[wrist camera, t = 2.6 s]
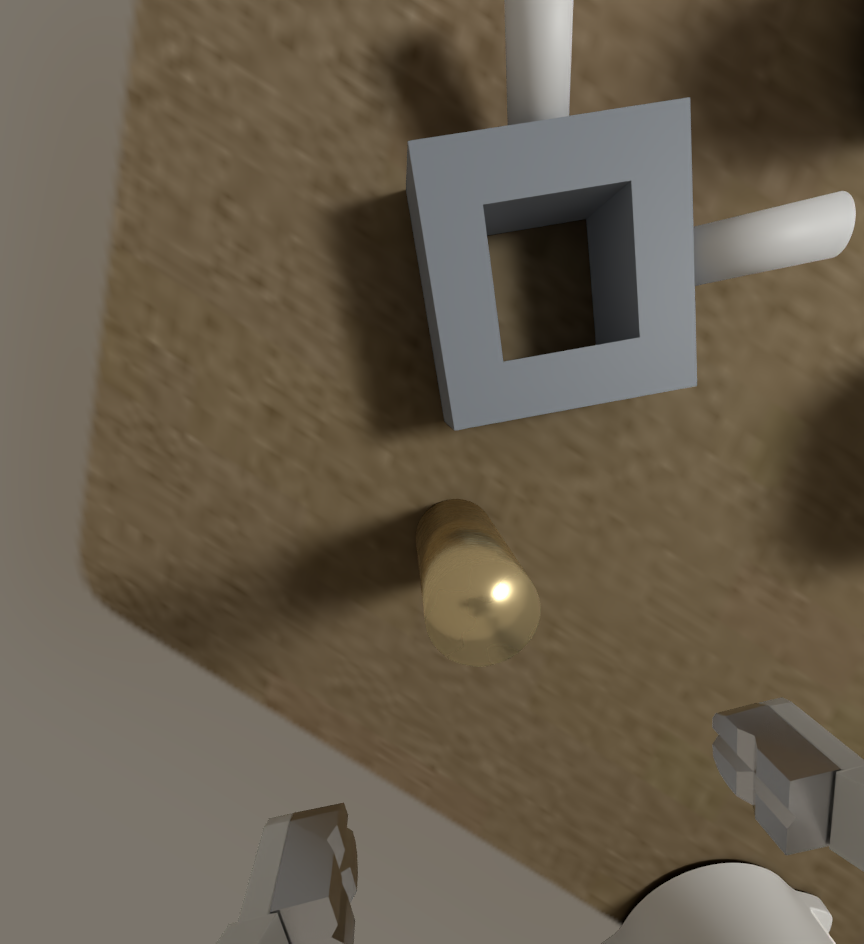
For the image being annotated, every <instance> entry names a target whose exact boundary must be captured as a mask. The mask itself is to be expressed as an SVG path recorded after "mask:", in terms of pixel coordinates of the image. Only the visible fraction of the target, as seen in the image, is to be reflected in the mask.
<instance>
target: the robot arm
mask: <svg viewBox="0 0 864 944" xmlns="http://www.w3.org/2000/svg"><path fill="white" fill-rule="evenodd" d="M713 729H714V730H715V731H716V732H717V733H718V734H719V735H718V737H717V738H716V740H715V741H714V743H713V757H714V760H715V762H716V765H717V768H718V770H719V772H720V774H721V776H722V777H723V779H724V780H725V782H726V784H727V785H728V786H729V787H730V788H731V790H732V791H733V792H734V793H735V795H736V796H738V797H739V798H741V799H743V800H745V801H746V802H748V803H750V804H752V805H753V809H754V815H755V819H756V820H757V821H758V822H759V824H760V825H761V826H762V827H763V828H764V830H765V831H766V832H767V833H768V834H769V836H770V837H771V838H772V839H773V840H774V842H775V843H776V844H777V845H778V846H779V848H780V849H781V850H782V851H783V852H784V853H785V855H790V854H794V853H799V852H803V851H808V850H812V849H817V848H821V847H826V846H830V847H829V849H830V850H832V851H833V852H835V853H836V854H838V855H839V856H841V857H842V858H844V859H845V860H847V861H848V862H850V863H851V864H853V865H854V866H856V867H858V868H859V869H861V870H862V871H864V760H863V759H862V758H861V757H860V756H858V755H857V754H856V753H855V752H853V751H852V750H851V749H850V748H848V747H847V746H846V745H845V744H843V743H842V742H841V741H840V740H838V739H837V738H836V737H835V736H833V735H832V734H831V733H830V732H828V731H827V730H826V729H825V728H823V727H822V726H821V725H820V724H818V723H817V722H816V721H815V720H813V719H812V718H811V717H810V716H808V715H807V714H806V713H805V712H803V711H802V710H801V709H800V708H798V707H797V706H796V705H795V704H794V703H792V702H791V701H789V700H787V699H785V698H777V699H773V700H769V701H765V702H760V703H754V704H750V705H746V706H742V707H738V708H734V709H730V710H726V711H722V712H719V713H716V714H715V715H714V717H713ZM347 820H348V814H347V811H346V808H345V805H344V803H340V804H335V805H330V806H326V807H320V808H316V809H311V810H306V811H301V812H296V813H292V814H287V815H283V816H278V817H274V818H270V819H269V820H268V822H267V824H266V825H265V827H264V829H263V832H262V836H261V840H260V843H259V847H258V850H257V854H256V858H255V861H254V865H253V868H252V872H251V876H250V879H249V883H248V887H247V890H246V894H245V898H244V901H243V905H242V908H241V912H240V916H239V919H238V922H235V923H232V924H230V925H229V926H228V927H227V928H226V930H225V931H224V933H223V934H222V935H221V937H220V938H219V940H218V941H217V942H216V944H354V930H355V919H354V915H353V912H352V908H351V905H350V902H351V901H352V899H353V897H354V895H355V894H356V892H357V877H358V866H357V850H356V843H355V838H354V835H353V831H352V830H350V829H348V828H347ZM831 924H832V916H831V914H830V913H829V911H828V910H827V908H826V907H825V905H824V904H823V903H822V901H821V900H820V899H819V898H818V897H816V896H814V895H811V894H807V893H804V892H800V891H796V890H794V889H792V888H791V887H790V886H789V885H788V884H787V883H786V882H785V881H784V880H783V879H781V878H780V877H779V876H778V875H776V874H775V873H773V872H771V871H770V870H767V869H765V868H763V867H759V866H756V865H752V864H745V863H721V864H714V865H709V866H704V867H700V868H697V869H694V870H691V871H688V872H686V873H683V874H681V875H679V876H676V877H674V878H672V879H671V880H669V881H667V882H665V883H664V884H662V885H661V886H659V887H658V888H656V889H655V890H653V891H652V892H651V893H650V894H648V895H647V896H646V897H645V898H644V899H643V900H642V901H641V902H640V903H639V904H638V905H637V906H636V907H635V908H634V909H633V910H632V912H631V913H630V914H629V916H628V917H627V919H626V920H625V922H624V923H623V925H622V926H621V927H620V928H619V930H618V931H617V932H616V933H615V934H614V935H612V936H611V937H609V938H608V939H607V940H606V941H604V942H603V943H601V944H836V943H835V942H834V940H833V939H832V938H831V936H830V935H829V931H830V928H831Z"/></svg>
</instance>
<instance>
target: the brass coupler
mask: <svg viewBox="0 0 864 944" xmlns="http://www.w3.org/2000/svg"><path fill="white" fill-rule="evenodd" d="M416 546H417V554H418V563H419V572H420V581H421V590H422V599H423V608H424V617H425V625H426V630H427V633H428V636H429V638H430V640H431V642H432V643H433V645H434V646H435V647H436V648H437V650H438V651H439V652H440V653H442V654H443V655H444V656H445V657H447V658H448V659H450V660H452V661H454V662H457V663H460V664H463V665H468V666H489V665H494V664H498V663H500V662H503V661H505V660H507V659H509V658H511V657H513V656H514V655H516V654H517V653H519V652H520V651H521V650H522V649H523V648H524V647H525V646H526V645H527V644H528V643H529V641H530V640H531V638H532V637H533V635H534V633H535V631H536V629H537V626H538V624H539V619H540V611H541V610H540V600H539V596H538V593H537V591H536V589H535V587H534V585H533V583H532V582H531V580H530V579H529V577H528V576H527V574H526V573H525V571H524V570H523V568H522V567H521V565H520V564H519V562H518V561H517V559H516V558H515V556H514V555H513V553H512V552H511V550H510V549H509V547H508V546H507V544H506V543H505V541H504V540H503V538H502V537H501V535H500V534H499V532H498V531H497V529H496V528H495V526H494V525H493V523H492V522H491V520H490V519H489V517H488V516H487V514H486V513H485V512H484V511H483V510H482V509H481V508H480V507H479V506H478V505H476V504H474V503H472V502H470V501H466V500H461V499H451V500H446V501H442V502H440V503H438V504H436V505H434V506H433V507H431V508H430V509H429V510H428V511H427V512H426V513H425V514H424V515H423V516H422V518H421V520H420V522H419V524H418V527H417V530H416Z"/></svg>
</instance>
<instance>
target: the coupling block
mask: <svg viewBox="0 0 864 944" xmlns="http://www.w3.org/2000/svg"><path fill="white" fill-rule="evenodd" d="M572 22H573V0H505V37H506V77H507V116H508V126H501V127H495V128H488V129H482V130H476V131H469V132H463V133H456V134H450V135H443V136H437V137H431V138H424V139H418V140H411V141H408V150H407V174H406V193H407V199H408V205H409V211H410V217H411V223H412V229H413V235H414V241H415V247H416V253H417V259H418V265H419V271H420V277H421V283H422V289H423V295H424V301H425V307H426V313H427V319H428V325H429V331H430V337H431V343H432V349H433V355H434V361H435V367H436V373H437V379H438V385H439V391H440V397H441V403H442V409H443V415H444V421H445V422H446V423H447V424H448V425H449V426H450V427H451V428H452V429H453V430H460V429H466V428H471V427H477V426H482V425H487V424H493V423H498V422H504V421H509V420H514V419H520V418H525V417H531V416H536V415H542V414H547V413H552V412H558V411H563V410H569V409H574V408H579V407H585V406H590V405H596V404H601V403H607V402H612V401H617V400H623V399H628V398H634V397H639V396H644V395H650V394H655V393H661V392H666V391H672V390H677V389H682V388H688V387H693V386H697V363H696V321H695V286H696V285H701V284H706V283H711V282H716V281H721V280H726V279H731V278H736V277H740V276H745V275H750V274H755V273H760V272H765V271H770V270H775V269H780V268H784V267H789V266H794V265H799V264H804V263H809V262H814V261H819V260H823V259H828V258H833V257H835V256H837V255H839V254H840V253H841V252H842V251H843V250H844V248H845V247H846V245H847V244H848V242H849V240H850V238H851V235H852V232H853V229H854V224H855V215H856V211H855V204H854V200H853V198H852V196H851V195H850V194H849V193H848V192H845V191H840V192H836V193H832V194H827V195H823V196H819V197H815V198H811V199H807V200H803V201H798V202H794V203H790V204H786V205H782V206H778V207H774V208H770V209H765V210H761V211H757V212H753V213H749V214H745V215H741V216H737V217H732V218H728V219H724V220H720V221H716V222H712V223H708V224H703V225H699V226H695V227H693V195H692V153H691V111H690V97H688V98H682V99H675V100H669V101H662V102H656V103H649V104H643V105H637V106H630V107H624V108H617V109H611V110H604V111H598V112H592V113H585V114H579V115H572V116H569V101H570V75H571V48H572ZM584 219H586V222H587V235H588V248H589V261H590V274H591V287H592V299H593V312H594V325H595V338H596V345H594V346H588V347H583V348H577V349H572V350H566V351H560V352H555V353H549V354H544V355H538V356H532V357H527V358H521V359H516V360H510V361H504V362H503V356H502V348H501V341H500V333H499V325H498V317H497V310H496V302H495V294H494V286H493V279H492V271H491V263H490V255H489V248H488V240H487V235H493V234H499V233H505V232H511V231H517V230H523V229H529V228H535V227H541V226H547V225H553V224H560V223H566V222H572V221H578V220H584Z"/></svg>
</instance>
